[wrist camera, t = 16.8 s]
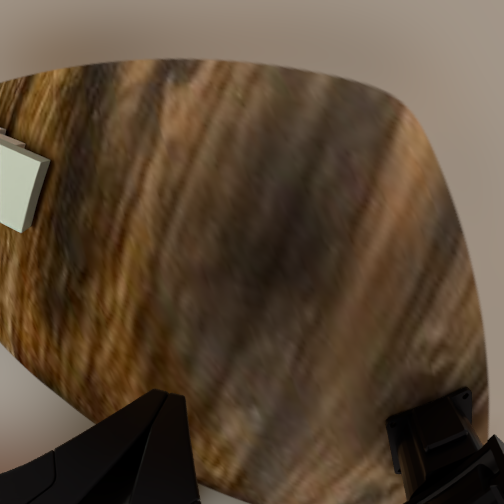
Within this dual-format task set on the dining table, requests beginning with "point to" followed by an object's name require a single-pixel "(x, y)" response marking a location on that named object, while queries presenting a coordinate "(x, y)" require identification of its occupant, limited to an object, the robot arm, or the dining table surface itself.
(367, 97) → the dining table surface
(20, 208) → the sage domino
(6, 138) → the ivory domino
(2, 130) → the ivory domino
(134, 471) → the robot arm
